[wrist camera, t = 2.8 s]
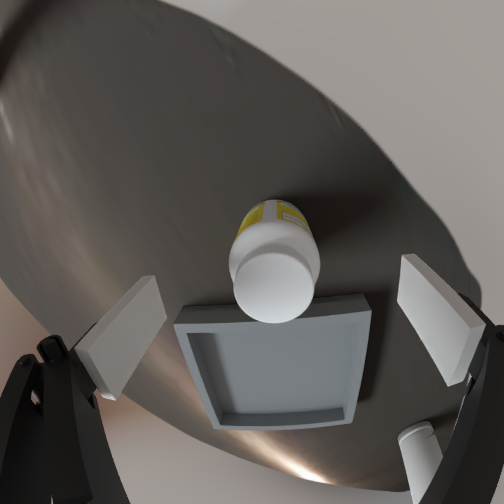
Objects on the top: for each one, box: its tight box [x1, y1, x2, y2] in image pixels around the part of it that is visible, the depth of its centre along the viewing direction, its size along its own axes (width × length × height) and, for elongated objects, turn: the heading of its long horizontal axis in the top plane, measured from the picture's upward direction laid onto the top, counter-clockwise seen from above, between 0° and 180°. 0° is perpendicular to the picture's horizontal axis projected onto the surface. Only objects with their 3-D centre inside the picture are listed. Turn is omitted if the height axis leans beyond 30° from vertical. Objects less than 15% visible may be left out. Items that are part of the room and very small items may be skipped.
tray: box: [173, 293, 372, 430], centre depth 26 cm, size 17×17×3 cm
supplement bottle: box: [229, 200, 320, 323], centre depth 18 cm, size 5×5×10 cm
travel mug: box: [398, 421, 443, 504], centre depth 23 cm, size 6×7×20 cm
